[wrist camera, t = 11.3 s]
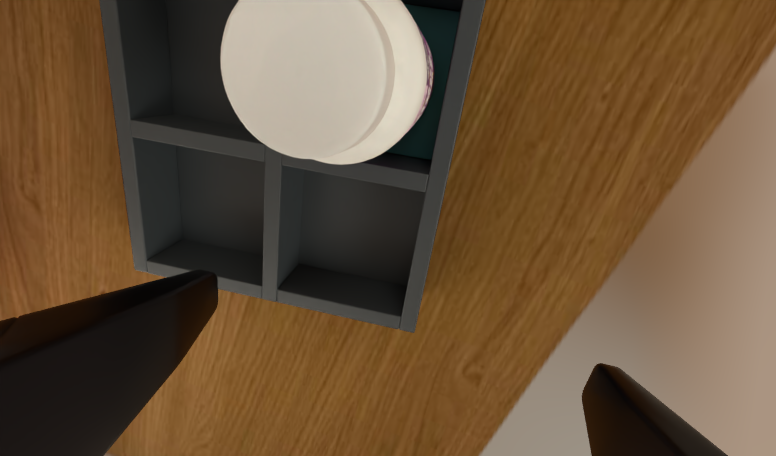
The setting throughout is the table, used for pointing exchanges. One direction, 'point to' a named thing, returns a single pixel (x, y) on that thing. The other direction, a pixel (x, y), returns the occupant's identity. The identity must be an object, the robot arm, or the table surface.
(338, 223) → the compartment tray
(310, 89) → the pill bottle
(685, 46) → the table surface
